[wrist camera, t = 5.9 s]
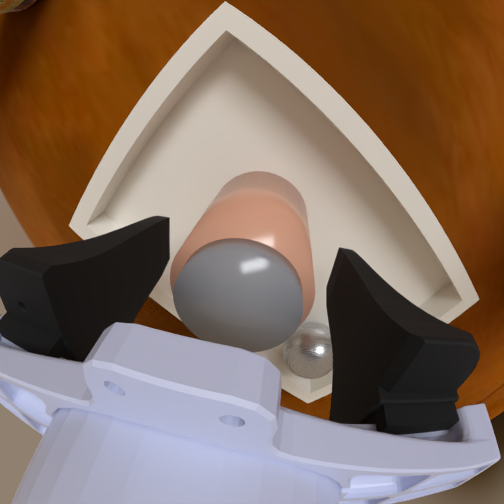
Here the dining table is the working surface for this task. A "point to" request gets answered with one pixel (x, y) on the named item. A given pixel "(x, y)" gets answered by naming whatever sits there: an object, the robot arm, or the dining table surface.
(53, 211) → the dining table surface
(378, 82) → the dining table surface
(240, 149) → the dish
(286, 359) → the mixing ball
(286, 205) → the shaker
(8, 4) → the sauce bottle
